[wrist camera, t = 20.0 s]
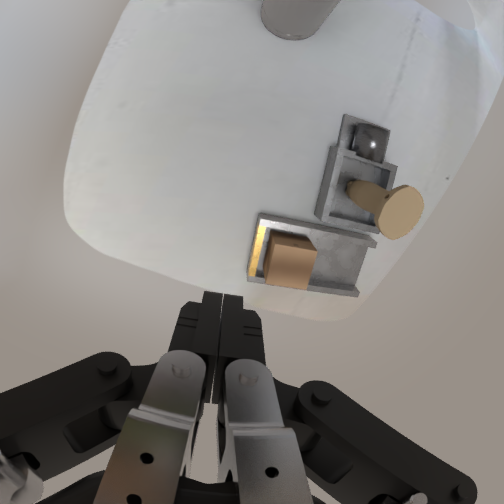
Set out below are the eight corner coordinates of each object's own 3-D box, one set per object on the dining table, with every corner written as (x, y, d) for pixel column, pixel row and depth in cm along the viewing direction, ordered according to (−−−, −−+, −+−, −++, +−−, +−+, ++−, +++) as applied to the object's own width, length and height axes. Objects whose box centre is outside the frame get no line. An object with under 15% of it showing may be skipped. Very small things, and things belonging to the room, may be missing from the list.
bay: (259, 212, 44) (260, 218, 41) (368, 235, 46) (377, 242, 43) (246, 271, 48) (247, 281, 44) (351, 287, 50) (357, 297, 46)
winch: (337, 112, 39) (350, 109, 33) (392, 132, 40) (410, 132, 35) (314, 214, 44) (323, 224, 39) (368, 226, 45) (382, 237, 40)
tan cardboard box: (270, 229, 44) (275, 243, 38) (308, 236, 44) (318, 250, 39) (262, 266, 46) (265, 284, 40) (298, 272, 47) (306, 290, 41)
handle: (376, 185, 42) (430, 208, 28) (349, 214, 44) (394, 247, 30) (357, 163, 41) (408, 177, 27) (329, 192, 42) (370, 219, 28)
